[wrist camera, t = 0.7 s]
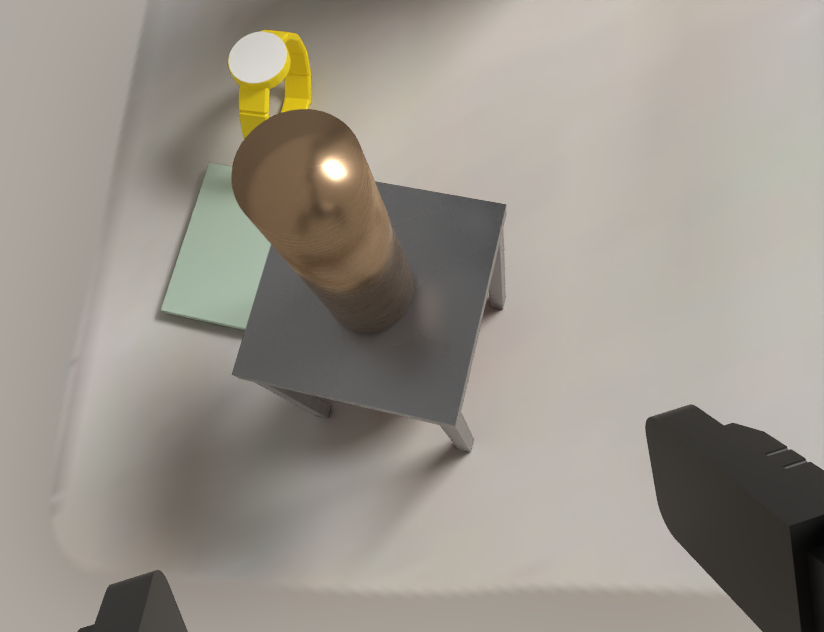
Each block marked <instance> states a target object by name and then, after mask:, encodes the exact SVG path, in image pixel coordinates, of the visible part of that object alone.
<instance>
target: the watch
mask: <svg viewBox="0 0 824 632" xmlns="http://www.w3.org/2000/svg"><path fill="white" fill-rule="evenodd" d="M228 67H229V71H230V73H231V75H232V76H233V78H234V80H235V81H236V83H237V84H238V85H239V110H240V112H239V116H240V122H241V127H242V133H243V136H244V139H245V138H246V137H247V136H248V135H249V133H250V132H251V131H252V130H253V129H254V128H256V127H257V126H258V125H259V124H261V123H262V122H264V121H265V120H267V119H269V114H268V113H269V96H270V89H272V88H274V87H275V86H277V85H278V84H280V83H281V82H282V81H283V80H284V78H285V99H284V103H283V106H282V110H281V113H282V112H286V111H290V110H297V109H308V108H309V104H311V101H310V100H311V75H310V74H311V69H310V63H309V57H308V52H307V49H306V47H305V45H304V44H303V42H302V40H301V38H300V36H299V35H298V34H296V33H290V32H282V31H273V30H262V31H261V32H254V33H251V34H248V35H246V36H244V37H243V38H241V39H240V40H239V41H238V42H237V43H236V44H235V45H234V46H233V47H232V49H231V51H230V53H229V57H228Z"/></svg>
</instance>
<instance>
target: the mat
mask: <svg viewBox="0 0 824 632" xmlns="http://www.w3.org/2000/svg"><path fill="white" fill-rule="evenodd" d="M231 174H232V166H226V165H221V164H215V163H210V162H209V165H208V168H207V171H206V174H205V177H204V180H203V183H202V186H201V189H200V192H199V195H198V198H197V201H196V204H195V207H194V210H193V214H192V217H191V220H190V223H189V226H188V229H187V232H186V235H185V238H184V241H183V244H182V247H181V250H180V253H179V256H178V259H177V262H176V265H175V268H174V271H173V274H172V277H171V280H170V283H169V286H168V289H167V293H166V296H165V299H164V302H163V305H162V308H161V310H162V311H163V312H165V313H168V314H172V315H177V316H181V317H186V318H190V319H195V320H200V321H204V322H209V323H213V324H218V325H222V326H227V327H231V328H236V329H241V330H245V329H246V325H247V322H248V319H249V315H250V312H251V309H252V306H253V302H254V299H255V296H256V292H257V289H258V286H259V282H260V279H261V276H262V272H263V269H264V266H265V262H266V259H267V256H268V252H269V249H270V246H271V243H270V242H269V241H268V240H267V239H266V238H265V237H264V235H263V234H262V233H261V232H260V231H259V230H258V229H257V227H256V226H255V225H254V224H253V223H252V222H251V220H250V219H249V218H248V217H247V216H246V215H245V214H244V212H243V211H242V210H241V208H240V207H239V205H238V203H237V201H236V199H235V196H234V193H233V189H232V181H231Z"/></svg>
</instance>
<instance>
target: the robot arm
mask: <svg viewBox="0 0 824 632" xmlns="http://www.w3.org/2000/svg"><path fill="white" fill-rule="evenodd" d="M645 428H646V437H647V443H648V449H649V455H650V461H651V467H652V472H653V478H654V484H655V490H656V496H657V501H658V505H659V509H660V512H661V515H662V517H663V519H664V522H665V524H666V526H667V528H668V529H669V531H670V533H671V534H672V535H673V537H674V538H675V539H676V540H677V541H678V542H679V543H680V544H681V546H682V547H683V548H684V549H685V550H686V551H687V552H688V553H689V554H690V555H691V556H692V557H693V558H694V559H695V560H696V561H697V563H698V564H699V565H700V566H701V567H702V568H703V569H704V570H705V571H706V572H707V573H708V574H709V575H710V576H711V577H712V578H713V579H714V581H715V582H716V583H717V584H718V585H719V586H720V587H721V588H722V589H723V590H724V591H725V592H726V593H727V594H728V595H729V596H730V597H731V599H732V600H733V601H734V602H735V603H736V604H737V605H738V606H739V607H740V608H741V609H742V610H743V611H744V612H745V613H746V614H747V615H748V617H750V619H751V620H752V621H753V622H754V623H755V624H756V625H757V626H758V627H759V628H760V629H761V630H762V631H763V632H824V470H822V469H821V468H819V467H818V466H816V465H815V464H813V463H812V462H808V463H807V461H806V459H805V458H804V457H802V456H801V455H799V454H798V453H796V452H795V451H793V450H788V449H787V446H785V445H784V444H782V443H781V442H779V441H778V440H776V439H775V438H773V437H771V436H770V435H768V434H767V433H765V432H763V431H760V430H756V429H753V428H749V427H746V426H742V425H739V424H735V423H731V424H728V425H725V426H724V425H722V424H721V423H719V422H718V421H717V420H715V419H714V418H712V417H711V416H709V415H708V414H706V413H705V412H704V411H702V410H701V409H699V408H698V407H696V406H694V405H687V406H684V407H681V408H677V409H674V410H671V411H668V412H665V413H661V414H658V415H655V416H652V417H649V418H648V419H647V421H646V426H645ZM78 632H187V629H186V626H185V624H184V621H183V619H182V616H181V614H180V611H179V609H178V606H177V604H176V601H175V599H174V596H173V594H172V591H171V588H170V586H169V584H168V581H167V579H166V577H165V576H164V574H163V573H162V572H161V571H159V570H156V571H153V572H150V573H146V574H143V575H140V576H137V577H134V578H130V579H127V580H124V581H121V582H118V583H115V584H111V585H109V587H108V588H107V590H106V593H105V595H104V598H103V601H102V604H101V607H100V610H99V613H98V616H97V618H96V621H95V624H94V625H91V626H87V627H84V628H81V629H79V630H78Z"/></svg>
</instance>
